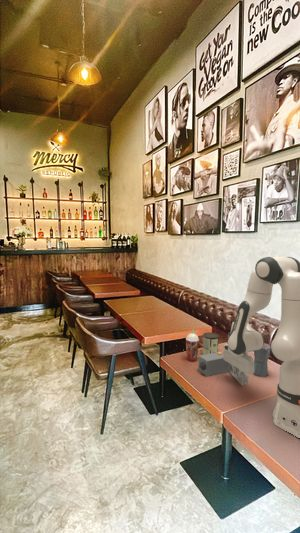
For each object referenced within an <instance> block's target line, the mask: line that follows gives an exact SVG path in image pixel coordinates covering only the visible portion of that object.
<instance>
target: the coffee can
mask: <svg viewBox="0 0 300 533" xmlns="http://www.w3.org/2000/svg"><path fill="white" fill-rule="evenodd" d="M219 337H220V335H219V334H218V333H215V332H204V333H203V334H202V354H201V355H205V354H210V353H216V352H219Z"/></svg>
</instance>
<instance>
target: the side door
mask: <svg viewBox="0 0 300 533" xmlns="http://www.w3.org/2000/svg"><path fill="white" fill-rule="evenodd" d="M236 370H237V371H238V372H237V373H239V369H238V368H236ZM229 373H230V374H231V375H232V376H233V377H234V379H235V380H236V381H237V382H238V383H239V385H241V386H244V383H245V385H246V386H249V375H248V374H246V373H244V372H243V373H242V376H241V377H238V376H237V374H236V375H235V374H234V373H233V368H232V365H231V364H230V363H229Z"/></svg>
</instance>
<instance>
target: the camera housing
mask: <svg viewBox="0 0 300 533" xmlns="http://www.w3.org/2000/svg"><path fill="white" fill-rule="evenodd" d="M197 365H198V366H197V367H198V368H197V371H199V372H200V373H201V374H203V376H205V377H211V376H214V375H220V374H224V373H228V372H229V363H228V362H226V361H225V360H224V359H223V351H218V352H216V353H210V354H205V355H202V354H200V355H198V364H197ZM229 373H230V372H229Z"/></svg>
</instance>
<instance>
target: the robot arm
mask: <svg viewBox="0 0 300 533" xmlns="http://www.w3.org/2000/svg"><path fill="white" fill-rule="evenodd" d="M276 284H278V285H279V286H280V290H281V299H280V300H281V301H280V302H281V306H280V307H281V312H280V313H281V314H280V320H279V325H278V329H277V332H276V334H275V337H274V339H273V340H272V341H271V343H270V346H271V350H270V351H271V352H272V354H273V356H274V357H275V358H276V359H278V360H279V361H282V363H281V365H280V368H279V373H278V374H279V376H278V383H277V387H276V394H277V396H276V403H275V406H274V408H273V411H272V415H271V416H272V417H273V425H274V426H276V427H277V428H279V429H281V430H283V431H285V432H286V431H287V432H286V433H288V432H289V433H291V434H293V435H294V436H293V435H292V436H293V437H295V436H296V437H298V438H300V261H299V259H297V258H294V257H291V256H281V255H276V256H266V257H265V256H264V257H262V258H261V259H259V260H258V261H256V264H255V267H254V269H253V270H252V271H251V274H250V275H249V279H248V283H247V288H246V294H245V295H244V297H243V300H242V302H241V303H240V304H239V306H238V308H237V311H236V314H235V317H234V321H232V323H231V328H230V332H231V333H230V332H229V337H228V336H227V343H226V344H223V351H222V353H223V359H224V360H225V361H226V362H228V363H230V364H231V365H232V368H233V373H234V374H235V375H236V374H237V376H238V377H241V376H242V373H243V372H244V373H245V374H246V375H247V376H249V375H250V376H251V375H254V374H253V373H254V359H253V357H252V356H251V355H249V353H251V352H254V351H256V350H259V349H262V347H263V345H264V343H265V338H264V336H263V335H262V333H261V332H260V331H258V330H255V329H254V328H253V327H252V326H251V325H250V323H249V320H250V318H251V317H252V316H254V315H255V314H256V313H258V312H260V311H263V310H264V309H266V308H267V307H268V306H269V304H270V302H271V300H272V299H271V298H272V293H273V287H274V285H276ZM236 368H238V369H239V373H237V372H238V371H237V370H236ZM289 433H288V434H289ZM291 434H290V435H291ZM296 437H295V438H296ZM298 438H297V439H298Z"/></svg>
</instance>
